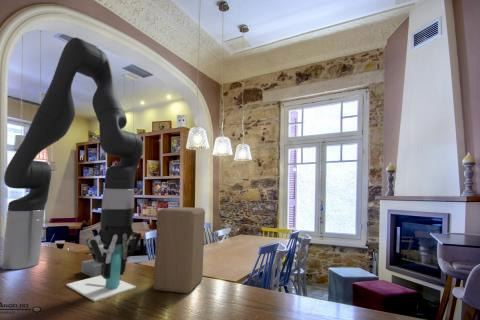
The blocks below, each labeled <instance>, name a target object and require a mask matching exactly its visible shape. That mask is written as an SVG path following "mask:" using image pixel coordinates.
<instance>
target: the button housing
mask: <svg viewBox="0 0 480 320" xmlns="http://www.w3.org/2000/svg"><path fill="white" fill-rule="evenodd" d="M101 265H102V263H99V262H97V261H94V260H93V258H91V259H88V260H83V261H81V266H80V268H81V269H80V273H82V274H84V275H86V276H89V277H90V278H92V277H96V276H100V275H101Z"/></svg>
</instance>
